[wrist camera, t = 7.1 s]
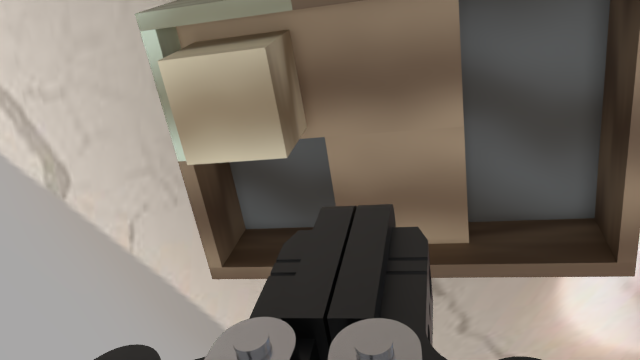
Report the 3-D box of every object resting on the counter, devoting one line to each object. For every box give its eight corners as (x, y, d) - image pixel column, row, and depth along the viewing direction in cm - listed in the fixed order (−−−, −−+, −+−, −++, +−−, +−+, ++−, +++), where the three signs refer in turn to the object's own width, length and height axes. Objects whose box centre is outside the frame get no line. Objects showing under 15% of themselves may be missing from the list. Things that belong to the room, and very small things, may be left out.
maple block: (194, 42, 26) (157, 61, 23) (289, 29, 25) (265, 47, 22) (218, 134, 29) (187, 165, 25) (306, 127, 27) (287, 157, 24)
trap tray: (177, 0, 28) (135, 14, 24) (633, -70, 23) (673, -66, 19) (238, 237, 34) (212, 279, 31) (608, 227, 29) (634, 276, 25)
